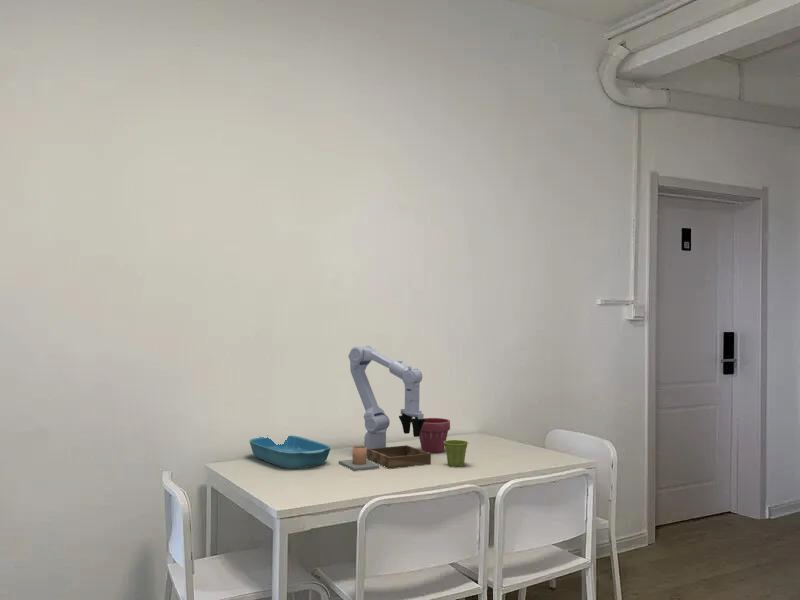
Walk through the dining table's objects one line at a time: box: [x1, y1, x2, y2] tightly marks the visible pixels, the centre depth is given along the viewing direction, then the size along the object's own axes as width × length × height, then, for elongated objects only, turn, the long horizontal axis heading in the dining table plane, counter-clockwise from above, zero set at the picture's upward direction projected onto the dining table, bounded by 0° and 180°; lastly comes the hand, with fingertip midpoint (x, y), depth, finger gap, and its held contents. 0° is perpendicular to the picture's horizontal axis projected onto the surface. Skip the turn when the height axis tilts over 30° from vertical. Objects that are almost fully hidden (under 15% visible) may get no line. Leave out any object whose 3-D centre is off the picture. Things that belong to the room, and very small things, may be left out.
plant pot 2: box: [444, 439, 469, 467], centre depth 275 cm, size 9×9×9 cm
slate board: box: [338, 459, 380, 472], centre depth 270 cm, size 14×10×1 cm
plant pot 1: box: [418, 417, 451, 454], centre depth 300 cm, size 14×14×13 cm
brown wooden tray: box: [366, 445, 432, 469], centre depth 279 cm, size 18×18×4 cm
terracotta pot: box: [351, 445, 367, 465], centre depth 270 cm, size 5×5×6 cm
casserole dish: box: [249, 434, 332, 470], centre depth 278 cm, size 37×22×7 cm, turn 41°
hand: (411, 435), depth 284 cm, fingers open, 7 cm apart
